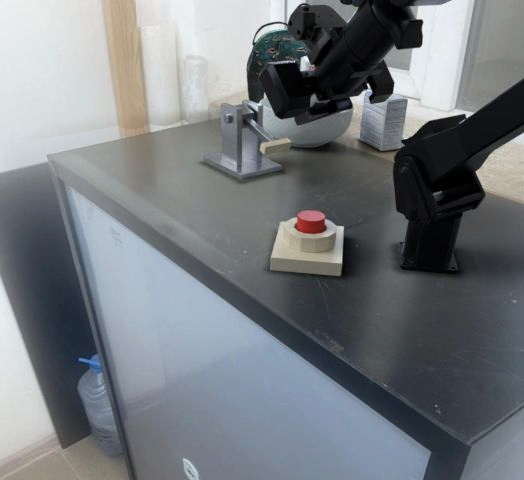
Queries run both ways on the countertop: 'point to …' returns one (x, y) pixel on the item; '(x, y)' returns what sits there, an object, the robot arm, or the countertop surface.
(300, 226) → the button
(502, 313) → the countertop surface
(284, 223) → the control block
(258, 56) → the green curved piece
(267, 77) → the robot arm
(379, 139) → the medicine box
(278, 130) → the cereal bowl
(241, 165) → the bracket
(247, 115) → the lever
